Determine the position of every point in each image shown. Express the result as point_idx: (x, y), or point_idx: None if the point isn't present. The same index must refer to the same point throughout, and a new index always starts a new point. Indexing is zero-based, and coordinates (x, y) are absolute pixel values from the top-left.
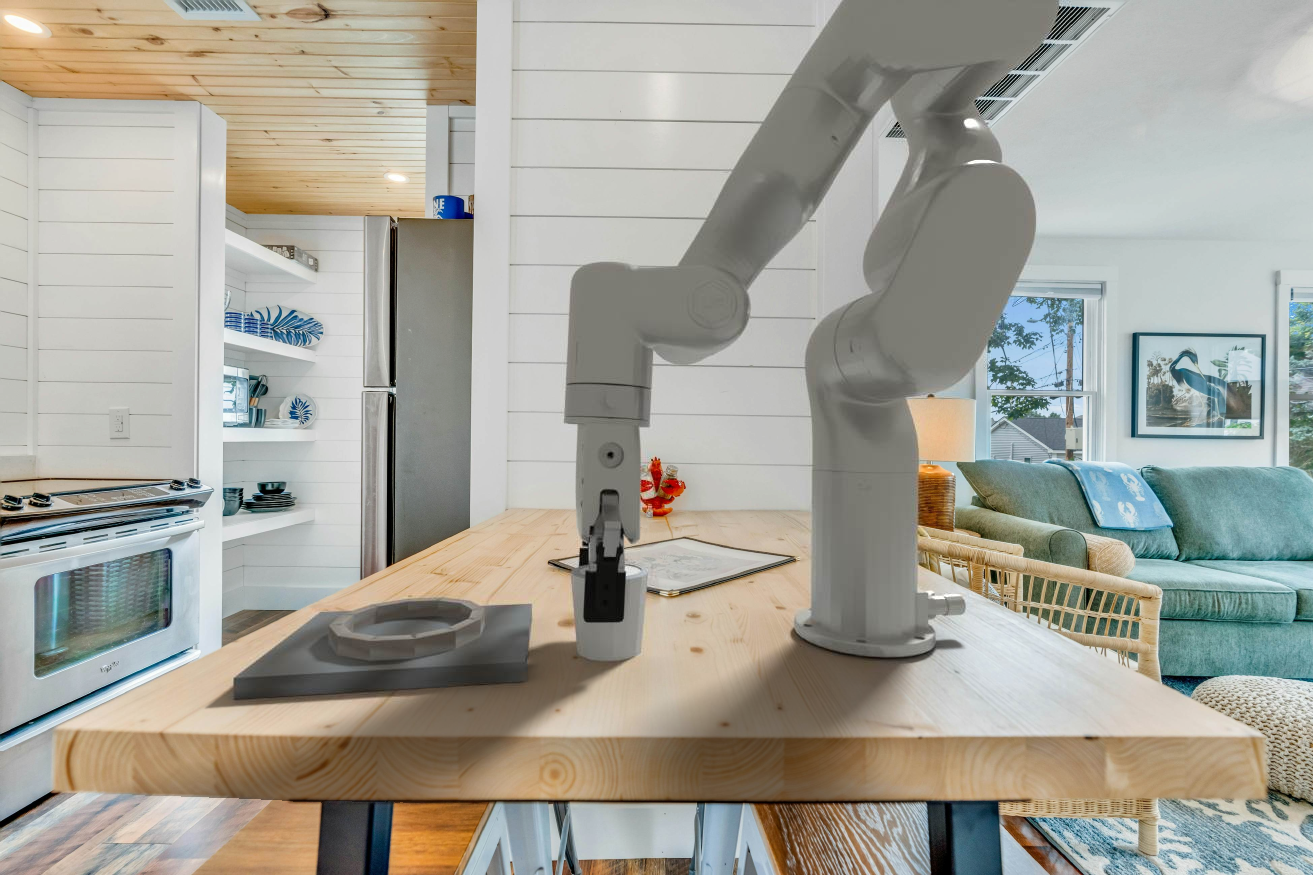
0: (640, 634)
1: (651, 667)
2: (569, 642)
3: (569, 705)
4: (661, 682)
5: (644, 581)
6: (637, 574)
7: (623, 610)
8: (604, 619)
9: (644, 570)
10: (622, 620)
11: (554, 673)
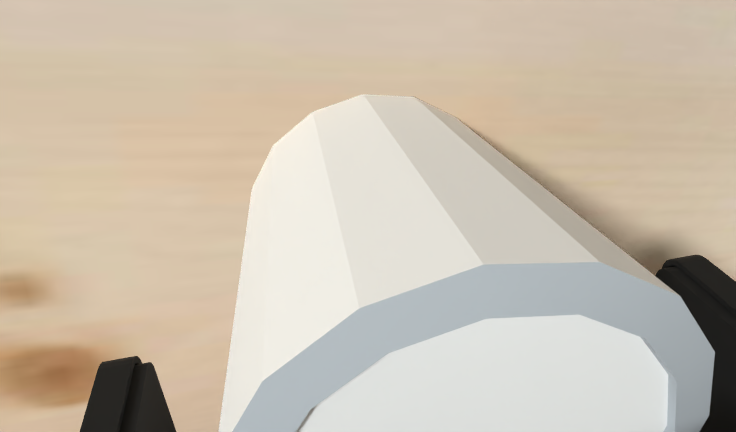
0: (457, 128)
1: (575, 59)
2: None
3: (733, 264)
4: (704, 31)
5: (610, 253)
6: (648, 327)
7: (728, 278)
8: None
9: (535, 293)
10: (695, 255)
11: None
